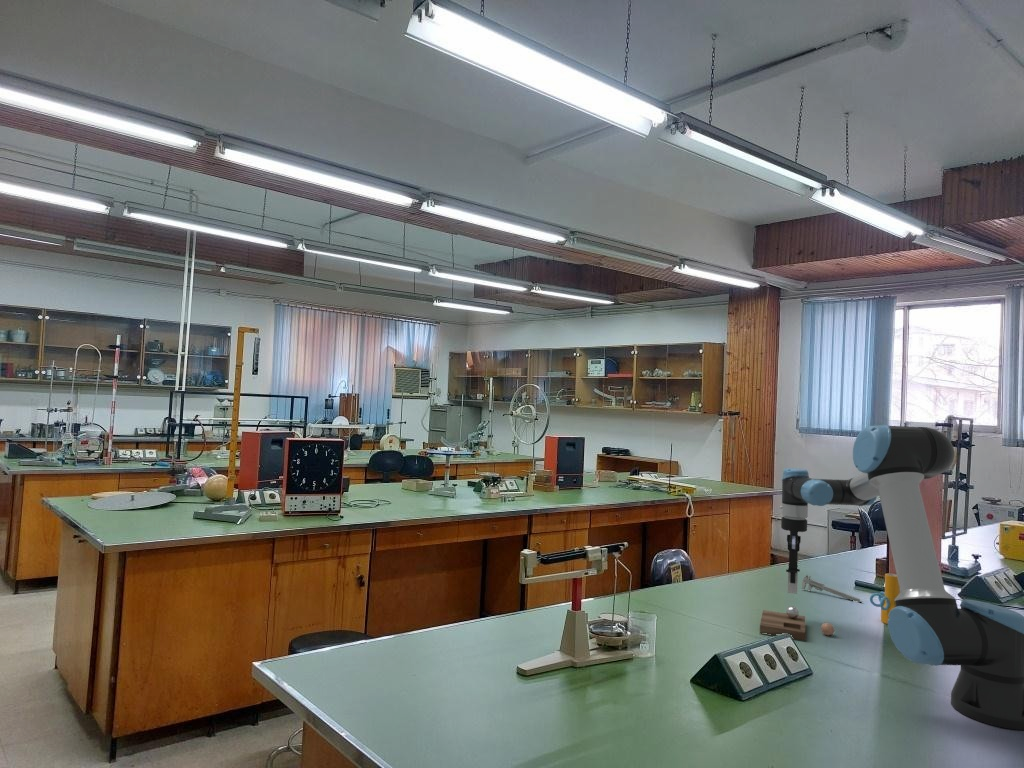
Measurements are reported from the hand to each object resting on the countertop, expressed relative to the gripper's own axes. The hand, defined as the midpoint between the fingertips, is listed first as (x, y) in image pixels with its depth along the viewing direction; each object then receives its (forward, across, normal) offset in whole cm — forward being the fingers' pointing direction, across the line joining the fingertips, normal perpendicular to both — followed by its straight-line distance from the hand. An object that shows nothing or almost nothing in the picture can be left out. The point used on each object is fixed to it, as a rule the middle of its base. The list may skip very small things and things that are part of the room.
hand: (792, 592), depth 200 cm
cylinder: (+9, -13, +29) cm, 33 cm away
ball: (+6, +11, +10) cm, 16 cm away
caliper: (+9, -37, +13) cm, 40 cm away
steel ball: (+4, +8, 0) cm, 9 cm away
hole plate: (+8, +12, -2) cm, 15 cm away
